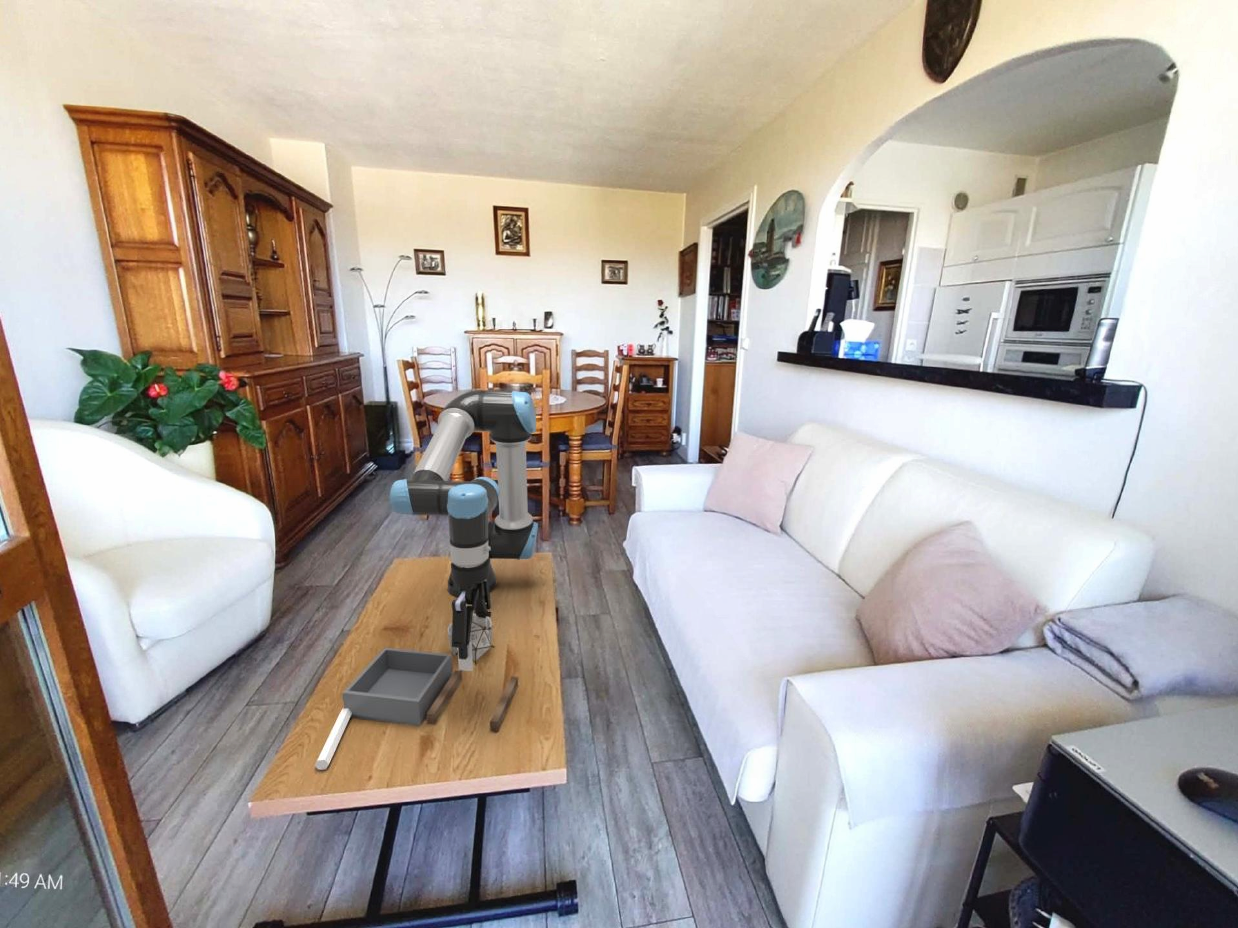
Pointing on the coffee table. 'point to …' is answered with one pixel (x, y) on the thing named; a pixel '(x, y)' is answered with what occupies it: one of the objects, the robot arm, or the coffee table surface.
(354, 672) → the coffee table surface
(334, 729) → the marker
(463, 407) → the robot arm
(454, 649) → the teacup
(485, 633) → the game die
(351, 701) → the bin
